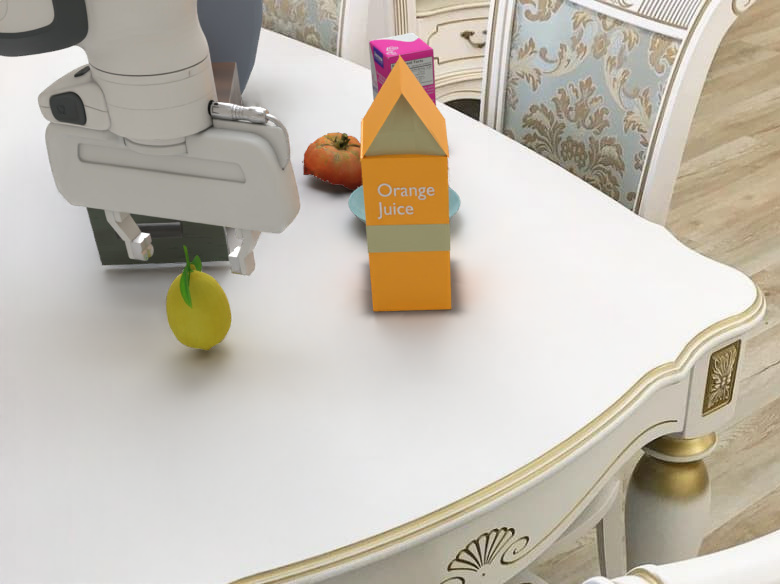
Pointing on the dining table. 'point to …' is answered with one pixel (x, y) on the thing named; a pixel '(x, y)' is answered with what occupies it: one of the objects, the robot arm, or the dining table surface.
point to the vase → (232, 32)
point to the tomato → (335, 160)
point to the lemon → (197, 307)
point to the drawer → (161, 240)
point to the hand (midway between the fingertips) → (192, 264)
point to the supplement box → (411, 52)
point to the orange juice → (406, 196)
